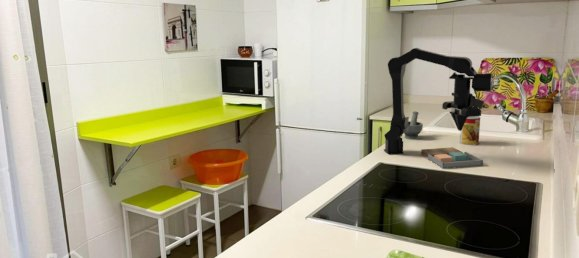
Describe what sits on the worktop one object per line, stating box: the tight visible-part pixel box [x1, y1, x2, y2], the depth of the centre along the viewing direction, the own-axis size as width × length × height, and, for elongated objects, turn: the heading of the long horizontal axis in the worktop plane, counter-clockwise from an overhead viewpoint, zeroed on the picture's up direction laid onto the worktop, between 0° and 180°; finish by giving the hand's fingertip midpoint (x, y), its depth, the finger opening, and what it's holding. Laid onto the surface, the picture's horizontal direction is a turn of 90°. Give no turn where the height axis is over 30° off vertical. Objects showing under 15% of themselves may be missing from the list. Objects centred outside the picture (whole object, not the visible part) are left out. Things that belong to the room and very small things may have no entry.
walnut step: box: [420, 146, 464, 159], centre depth 183 cm, size 14×8×2 cm, turn 99°
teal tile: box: [449, 151, 467, 161], centre depth 177 cm, size 5×5×2 cm
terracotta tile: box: [434, 154, 453, 163], centre depth 174 cm, size 5×5×2 cm
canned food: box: [459, 116, 481, 146], centre depth 200 cm, size 8×8×12 cm
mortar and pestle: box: [403, 110, 423, 140], centre depth 212 cm, size 11×9×12 cm
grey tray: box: [427, 151, 483, 169], centre depth 173 cm, size 16×12×2 cm
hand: (459, 130), depth 175 cm, fingers closed
